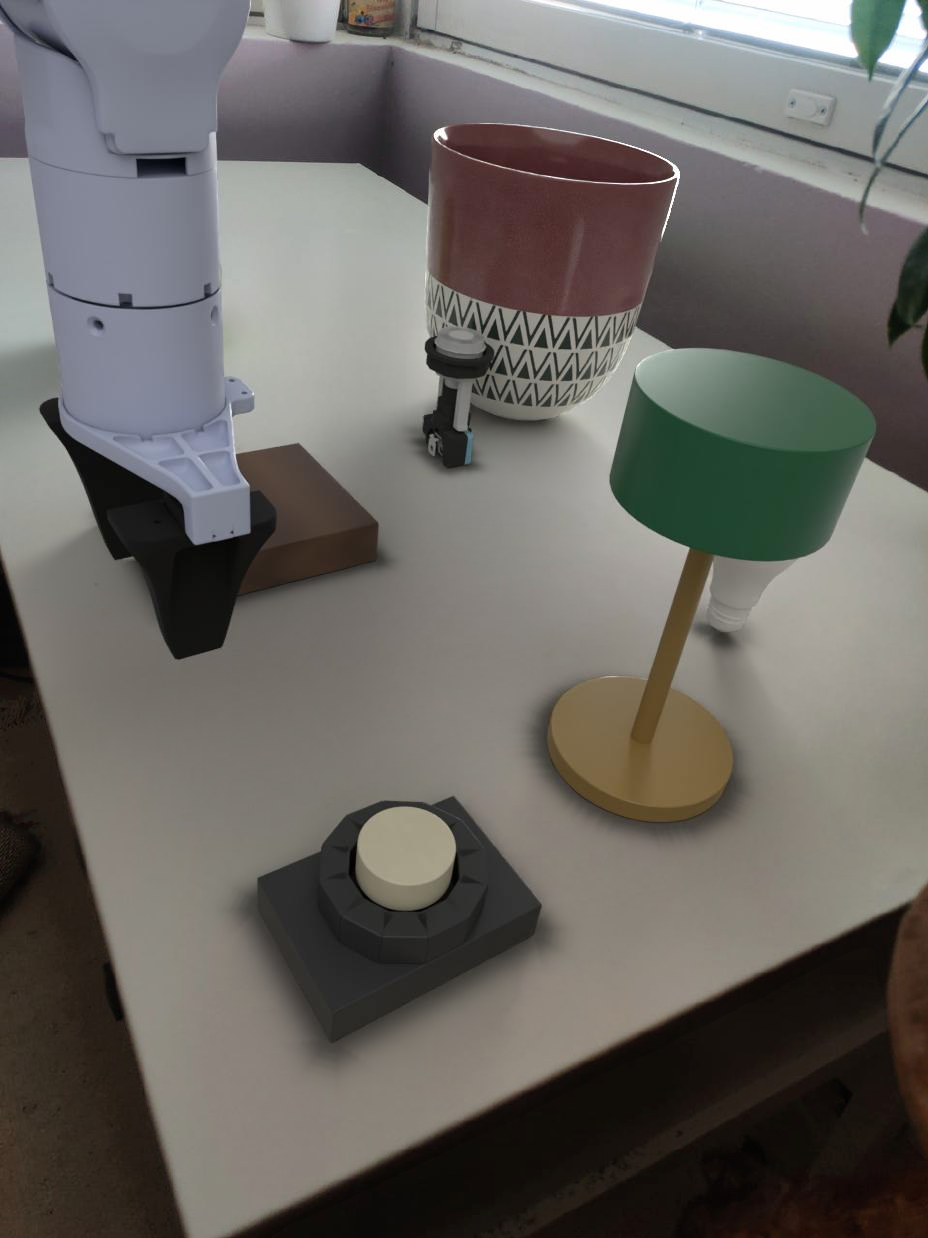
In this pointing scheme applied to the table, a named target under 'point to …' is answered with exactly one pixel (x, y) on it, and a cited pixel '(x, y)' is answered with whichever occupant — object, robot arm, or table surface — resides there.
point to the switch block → (390, 922)
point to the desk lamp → (705, 552)
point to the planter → (541, 256)
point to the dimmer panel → (304, 519)
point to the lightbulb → (738, 589)
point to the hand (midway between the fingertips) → (163, 597)
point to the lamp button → (405, 858)
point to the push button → (454, 391)
